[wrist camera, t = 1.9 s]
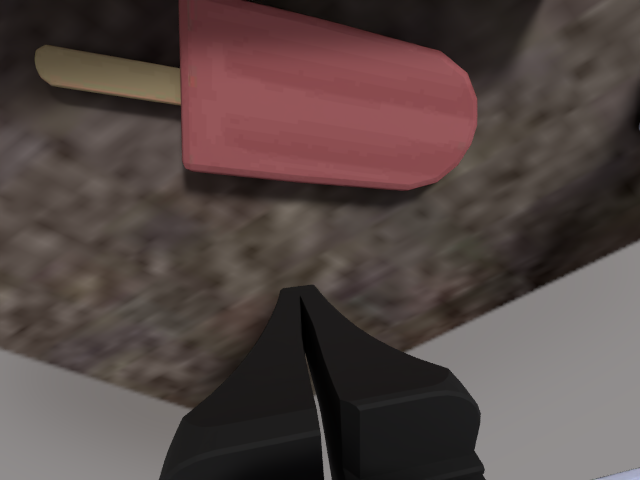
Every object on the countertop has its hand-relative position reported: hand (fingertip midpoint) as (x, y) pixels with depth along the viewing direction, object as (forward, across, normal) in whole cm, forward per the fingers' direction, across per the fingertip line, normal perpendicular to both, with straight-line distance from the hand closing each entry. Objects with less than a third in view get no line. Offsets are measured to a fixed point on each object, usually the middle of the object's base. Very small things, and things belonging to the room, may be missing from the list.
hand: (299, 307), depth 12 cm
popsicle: (+3, 0, -8) cm, 8 cm away
